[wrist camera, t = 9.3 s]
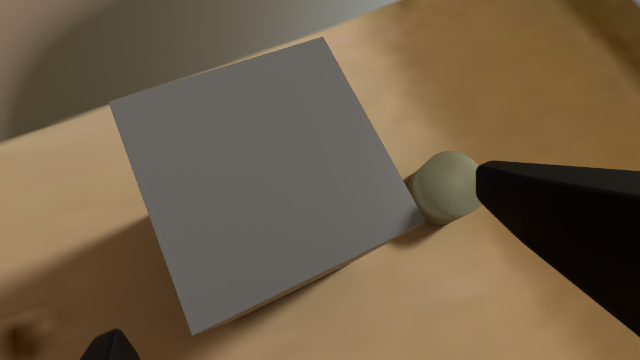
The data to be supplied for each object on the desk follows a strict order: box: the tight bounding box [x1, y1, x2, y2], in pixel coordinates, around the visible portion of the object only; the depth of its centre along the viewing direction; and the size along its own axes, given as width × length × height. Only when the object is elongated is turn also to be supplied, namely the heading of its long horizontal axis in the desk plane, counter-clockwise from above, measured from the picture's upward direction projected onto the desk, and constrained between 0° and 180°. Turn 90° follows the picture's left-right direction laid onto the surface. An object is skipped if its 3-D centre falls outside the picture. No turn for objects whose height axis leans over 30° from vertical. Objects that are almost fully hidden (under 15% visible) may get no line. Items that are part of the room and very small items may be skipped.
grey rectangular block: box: [109, 37, 426, 336], centre depth 15 cm, size 7×7×10 cm
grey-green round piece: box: [406, 151, 482, 225], centre depth 20 cm, size 3×3×2 cm
